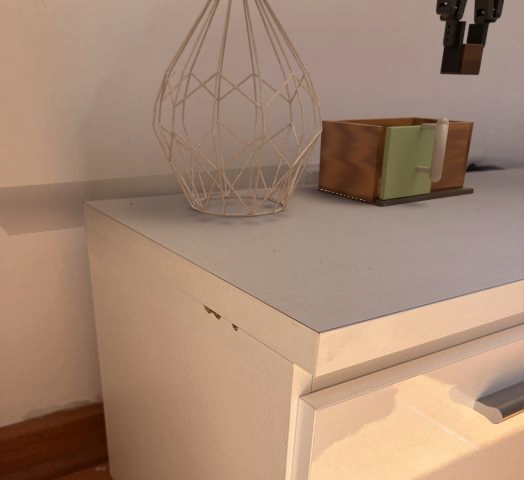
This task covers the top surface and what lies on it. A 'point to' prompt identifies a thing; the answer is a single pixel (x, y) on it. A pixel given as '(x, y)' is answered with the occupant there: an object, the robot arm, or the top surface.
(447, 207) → the top surface
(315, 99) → the table lamp
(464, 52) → the block
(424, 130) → the sliding door
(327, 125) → the box
